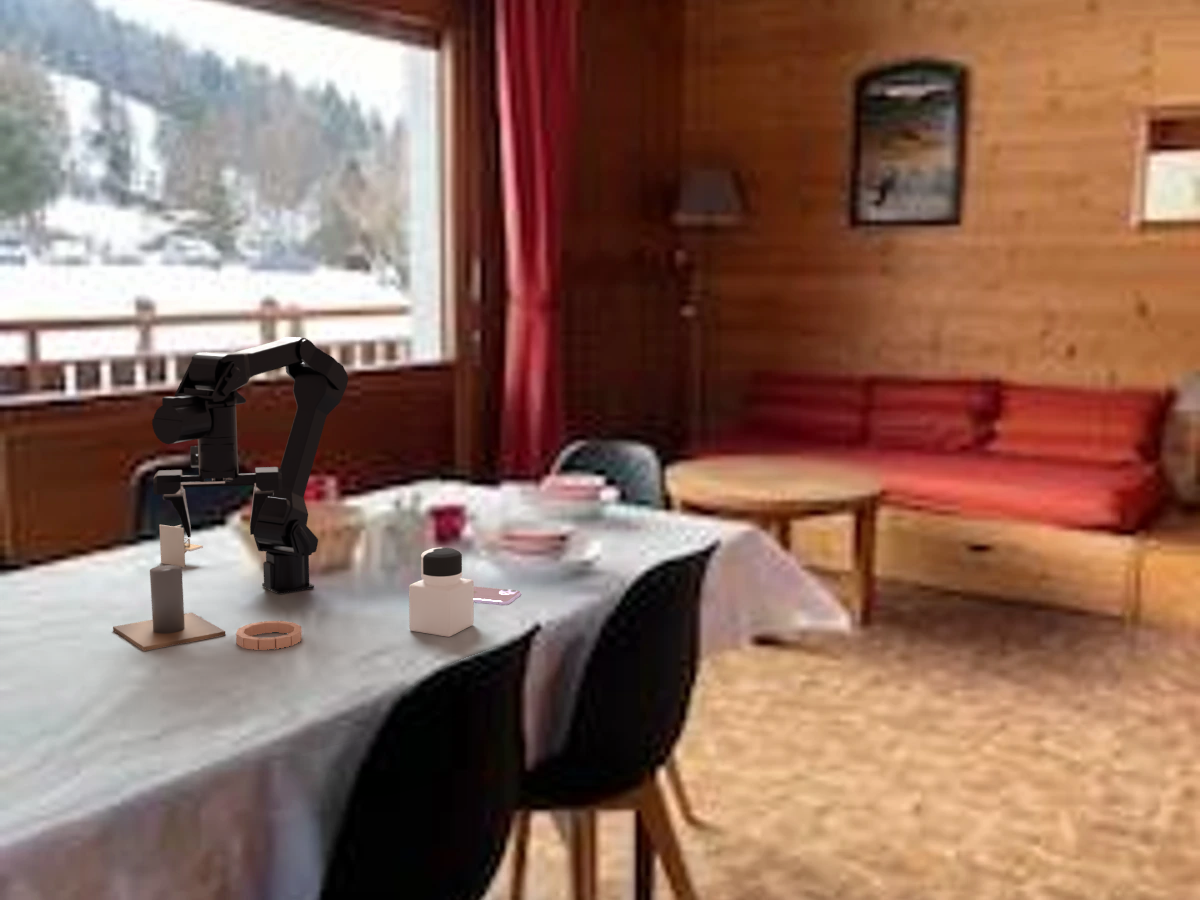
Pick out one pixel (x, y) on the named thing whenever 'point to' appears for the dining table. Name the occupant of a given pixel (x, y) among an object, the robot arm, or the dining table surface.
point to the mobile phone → (495, 595)
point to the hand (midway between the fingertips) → (220, 535)
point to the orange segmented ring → (271, 642)
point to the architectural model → (174, 545)
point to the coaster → (149, 639)
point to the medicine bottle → (441, 595)
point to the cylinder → (167, 599)
